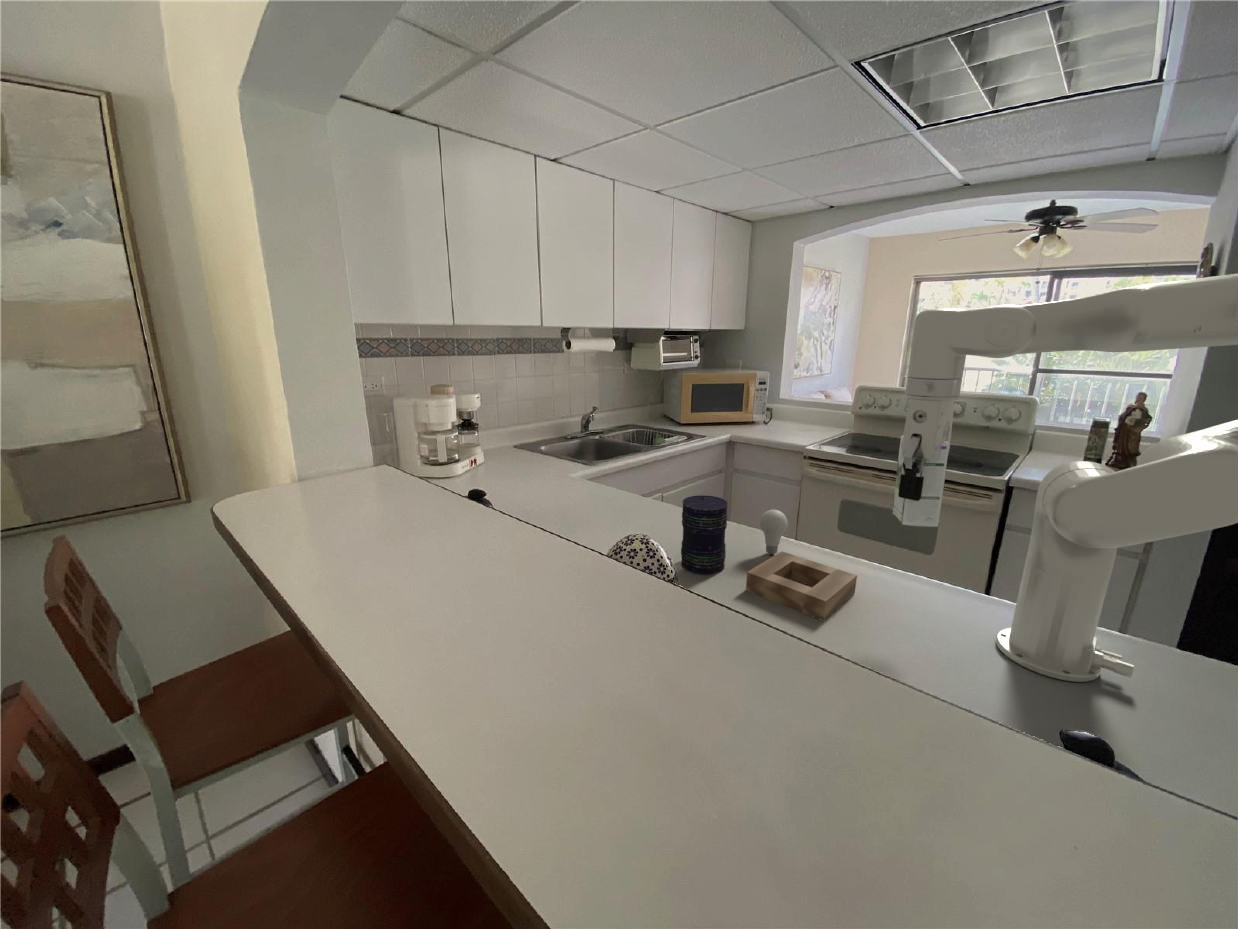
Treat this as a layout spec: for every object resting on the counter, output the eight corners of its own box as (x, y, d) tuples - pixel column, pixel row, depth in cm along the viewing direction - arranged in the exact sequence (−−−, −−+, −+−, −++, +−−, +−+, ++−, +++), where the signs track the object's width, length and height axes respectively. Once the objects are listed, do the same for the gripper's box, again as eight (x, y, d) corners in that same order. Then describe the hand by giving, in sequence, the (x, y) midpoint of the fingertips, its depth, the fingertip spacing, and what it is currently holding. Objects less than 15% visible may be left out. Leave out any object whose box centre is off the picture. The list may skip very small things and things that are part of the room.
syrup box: (939, 527, 81) (952, 441, 78) (900, 525, 83) (912, 440, 79) (926, 515, 87) (938, 435, 83) (889, 513, 88) (899, 434, 84)
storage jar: (729, 575, 106) (732, 509, 102) (683, 575, 106) (685, 510, 102) (719, 555, 115) (722, 494, 112) (678, 556, 115) (679, 495, 112)
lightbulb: (788, 552, 117) (791, 508, 114) (780, 562, 112) (784, 516, 109) (762, 547, 120) (765, 504, 117) (754, 556, 115) (757, 511, 112)
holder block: (854, 593, 98) (857, 575, 97) (823, 621, 88) (826, 601, 87) (780, 567, 109) (781, 551, 108) (745, 590, 99) (747, 572, 98)
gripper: (944, 395, 71) (927, 510, 75) (973, 386, 82) (956, 486, 87) (888, 391, 76) (875, 499, 80) (922, 384, 88) (909, 478, 92)
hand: (917, 492), depth 84 cm, fingers closed on syrup box, 7 cm apart
